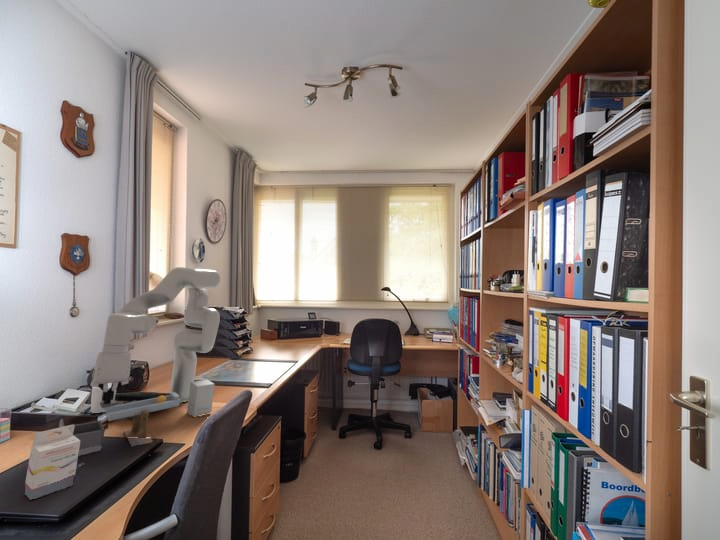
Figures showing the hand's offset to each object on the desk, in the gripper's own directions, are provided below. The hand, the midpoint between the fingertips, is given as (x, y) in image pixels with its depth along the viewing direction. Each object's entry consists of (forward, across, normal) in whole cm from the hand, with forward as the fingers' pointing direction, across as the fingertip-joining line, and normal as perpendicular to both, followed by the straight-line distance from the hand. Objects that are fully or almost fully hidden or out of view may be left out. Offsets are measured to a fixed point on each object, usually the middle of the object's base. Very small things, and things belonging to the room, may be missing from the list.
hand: (106, 402), depth 115 cm
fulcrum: (+10, -9, +9) cm, 16 cm away
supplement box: (+10, -33, -2) cm, 34 cm away
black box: (+10, -16, -14) cm, 24 cm away
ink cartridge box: (+12, +14, +28) cm, 34 cm away
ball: (-2, -14, +10) cm, 17 cm away
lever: (+1, -9, +5) cm, 11 cm away
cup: (+11, +7, +9) cm, 16 cm away
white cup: (+10, -3, -22) cm, 24 cm away
